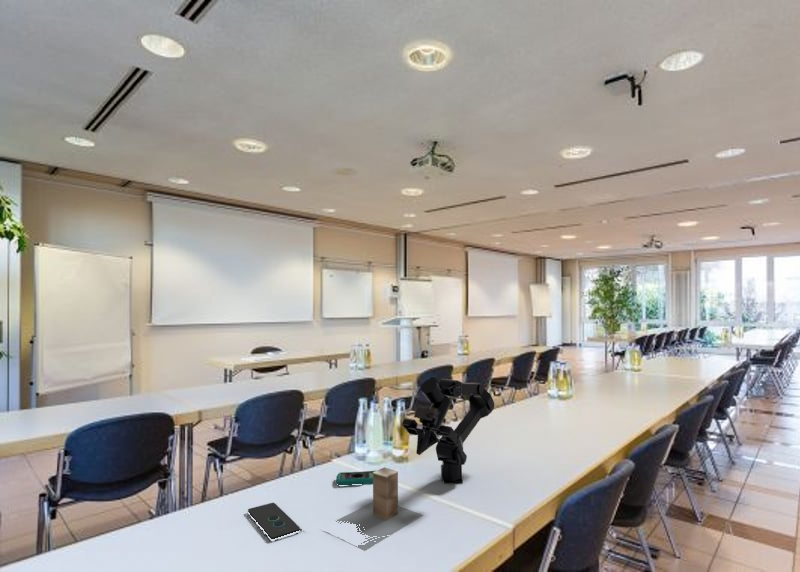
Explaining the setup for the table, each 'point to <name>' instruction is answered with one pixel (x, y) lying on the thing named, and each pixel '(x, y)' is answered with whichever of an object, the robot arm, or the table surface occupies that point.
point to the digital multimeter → (355, 478)
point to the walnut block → (385, 493)
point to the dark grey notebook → (273, 520)
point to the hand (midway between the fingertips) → (417, 454)
